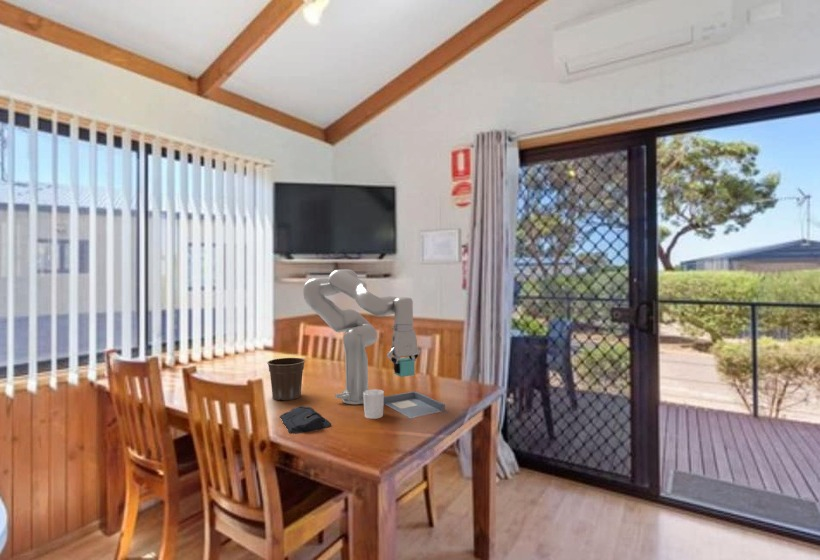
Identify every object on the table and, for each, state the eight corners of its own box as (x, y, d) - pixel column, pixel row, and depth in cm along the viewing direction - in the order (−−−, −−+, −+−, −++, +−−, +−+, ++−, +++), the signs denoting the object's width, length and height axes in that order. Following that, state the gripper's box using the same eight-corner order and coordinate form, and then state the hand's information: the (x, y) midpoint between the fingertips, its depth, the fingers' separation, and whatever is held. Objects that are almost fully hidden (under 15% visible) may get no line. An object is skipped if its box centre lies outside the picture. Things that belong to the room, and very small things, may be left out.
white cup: (373, 413, 175) (373, 388, 175) (388, 417, 170) (388, 391, 170) (359, 418, 169) (358, 392, 169) (374, 423, 164) (373, 396, 164)
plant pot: (293, 389, 210) (292, 355, 210) (313, 396, 199) (312, 360, 199) (261, 397, 198) (260, 361, 198) (280, 404, 187) (279, 366, 187)
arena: (410, 420, 166) (409, 411, 166) (382, 405, 185) (382, 397, 185) (444, 413, 175) (444, 404, 175) (415, 399, 194) (415, 391, 193)
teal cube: (401, 377, 178) (401, 362, 178) (394, 373, 183) (394, 359, 183) (414, 374, 181) (414, 360, 181) (407, 371, 186) (406, 357, 186)
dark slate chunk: (315, 411, 180) (315, 399, 180) (333, 428, 161) (333, 415, 160) (277, 417, 173) (276, 405, 173) (290, 436, 153) (290, 423, 153)
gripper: (389, 330, 174) (390, 376, 174) (426, 327, 183) (427, 370, 183) (380, 328, 180) (381, 373, 181) (416, 325, 189) (417, 367, 190)
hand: (404, 371), depth 182 cm, fingers closed on teal cube, 6 cm apart
